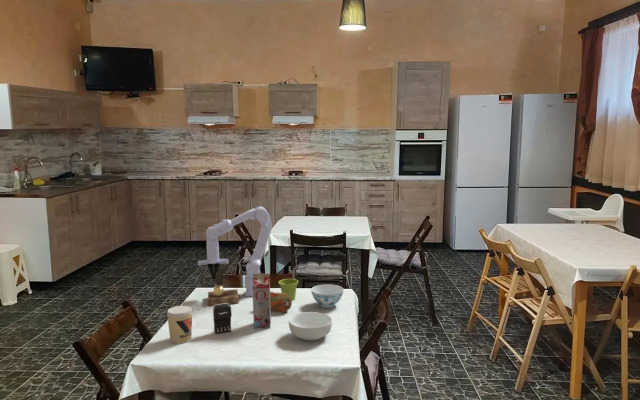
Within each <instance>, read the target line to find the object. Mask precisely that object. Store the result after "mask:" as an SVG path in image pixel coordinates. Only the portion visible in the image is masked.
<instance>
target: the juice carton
mask: <svg viewBox="0 0 640 400" xmlns="http://www.w3.org/2000/svg"><path fill="white" fill-rule="evenodd" d="M252 285H253V296H252V303H253V304H252V308H253V310H252V311H253V314H252V315H253V317H252V318H253V330H257V329H258V330H259V329H261V330H262V329H271V324H272V321H271V320H272V314H271V313H272V311H271V308H270V292H271V278H270V273H260V274H253V284H252Z"/></svg>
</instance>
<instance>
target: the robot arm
mask: <svg viewBox="0 0 640 400" xmlns="http://www.w3.org/2000/svg"><path fill="white" fill-rule="evenodd" d="M248 220H252V221H256V220H257V221H258V222H259V224H260V225H261V230H260V233H259V235H258V238H257V241H256V244H255V248H254V250H253V253H252V255H251V258H250V259H249V261H248V262H247V264H246V265H245V270H246V275H245V291H244V294H245V297H248V298H249V297H253V285H252V284H253V274H261V270H260V269H261V265H262V258H263V255H264V254H265V253H264V252H265V250H266V247H267V245H268V240H269V238H270V236H271V231H272V230H273V222H272V220H271V215H270V213H269V212H268V210H267V209H266V208H265V207H263V206H261V205H260V206H256V207H255V208H254V207H253V208H251V209H249V210H247V211H245V212H243V213H240V214H239V215H237V216H236V217H234V218H232V219H224V218H223V219H222V220H221V222H219V223H217V224H215V223H214V224H212V226H209V227H208V228H207V229H206V232H205V236H206V258H207V259H203V260H198V261H197V266H199V267H200V266H207V268H208V269H209V272H210V274H211V278H212V280H216V277H217V272H218V270H219V267H220V265H223V264H229V263H230V262H229V258H220V245H219V236H223V235H224V234H226V233H228V232H230V231H232V230H233V228H234V227H235V226H236V225H238V224H241V223H243V222H245V221H248Z"/></svg>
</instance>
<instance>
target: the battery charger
mask: <svg viewBox="0 0 640 400" xmlns="http://www.w3.org/2000/svg"><path fill="white" fill-rule="evenodd" d="M232 315H233V313H232V307H231V304H228V303H222V304H216V305H213V308H212V321H213V332H214V333H215V334H217V335H218V334H225V333H229V332H231V331H232Z"/></svg>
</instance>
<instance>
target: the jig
mask: <svg viewBox="0 0 640 400" xmlns="http://www.w3.org/2000/svg"><path fill="white" fill-rule="evenodd" d="M239 299H240V298H239V292H238V289H226V290H224V289H223V296H221V297H214V290H213V291H208V292H207V306H208V307H210V306H213V307H214V306H215V305H216V304H222V303H228V304H229V305H233V304H234V305H235V303H236V304H239V303H240V302H239Z"/></svg>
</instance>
